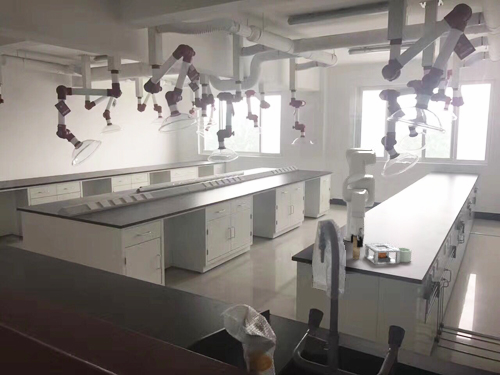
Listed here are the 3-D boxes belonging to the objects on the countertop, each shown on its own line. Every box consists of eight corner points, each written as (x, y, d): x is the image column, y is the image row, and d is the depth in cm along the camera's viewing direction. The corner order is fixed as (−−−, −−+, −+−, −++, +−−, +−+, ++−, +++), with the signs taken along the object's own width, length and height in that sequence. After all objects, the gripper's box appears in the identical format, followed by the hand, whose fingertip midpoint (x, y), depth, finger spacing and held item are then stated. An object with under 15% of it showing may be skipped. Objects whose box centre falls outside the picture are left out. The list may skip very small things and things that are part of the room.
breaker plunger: (375, 255, 221) (376, 250, 220) (383, 255, 221) (384, 250, 221) (379, 258, 216) (379, 252, 216) (387, 257, 217) (387, 252, 216)
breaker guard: (364, 256, 225) (364, 243, 224) (388, 255, 226) (388, 242, 225) (374, 264, 211) (375, 251, 210) (399, 263, 213) (400, 250, 212)
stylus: (351, 257, 223) (352, 234, 221) (358, 257, 223) (359, 234, 222) (354, 259, 219) (354, 236, 217) (360, 259, 220) (361, 236, 218)
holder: (394, 258, 221) (394, 247, 220) (406, 257, 222) (406, 247, 221) (400, 262, 214) (400, 251, 213) (412, 262, 215) (413, 251, 214)
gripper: (345, 211, 226) (344, 240, 228) (357, 217, 209) (355, 249, 211) (358, 210, 227) (357, 240, 229) (371, 217, 210) (369, 249, 212)
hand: (356, 244), depth 220 cm, fingers open, 8 cm apart
